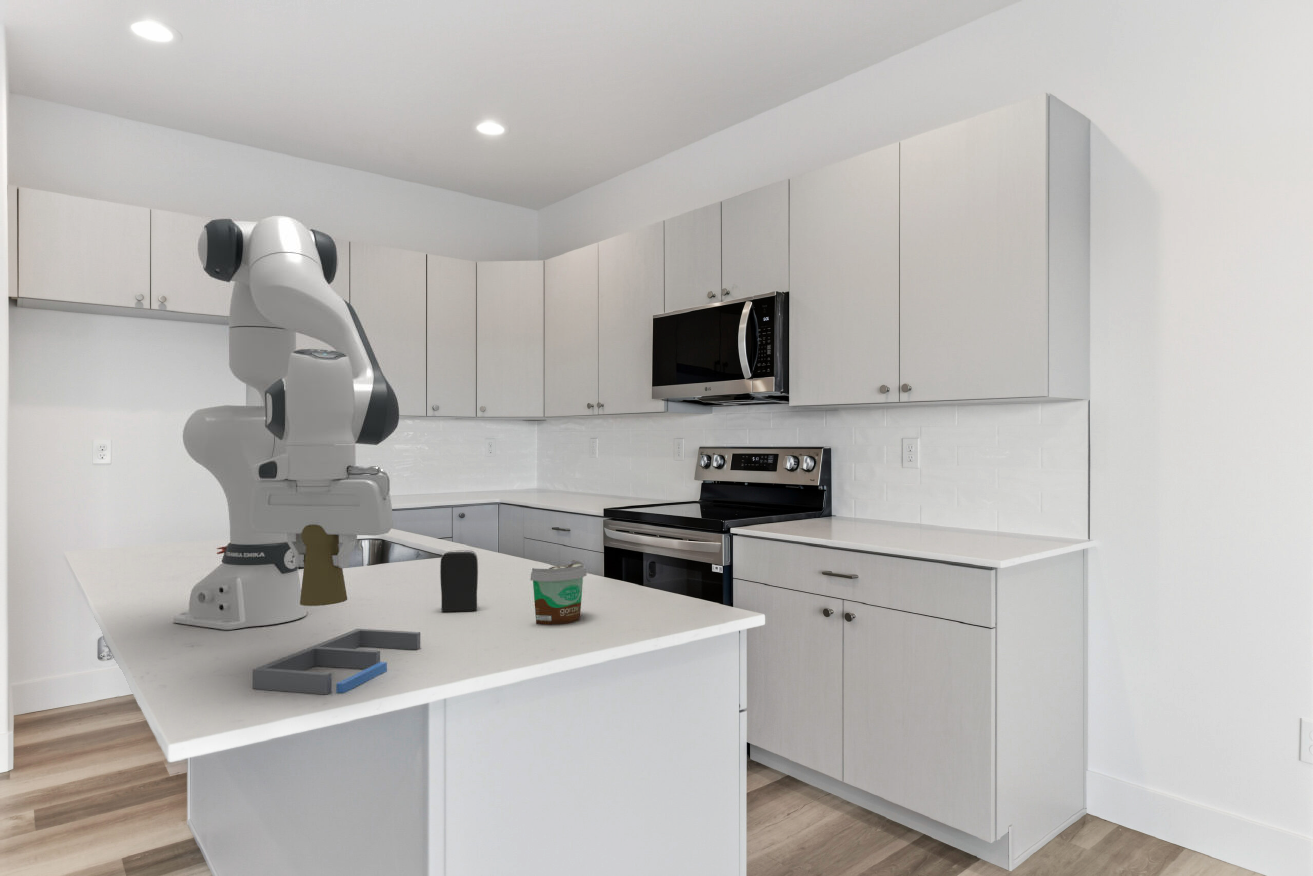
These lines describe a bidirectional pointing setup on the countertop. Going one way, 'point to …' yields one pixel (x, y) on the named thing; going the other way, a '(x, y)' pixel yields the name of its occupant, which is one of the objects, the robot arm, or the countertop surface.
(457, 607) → the battery charger
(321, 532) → the cork
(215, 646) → the countertop surface
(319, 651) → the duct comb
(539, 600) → the food container
